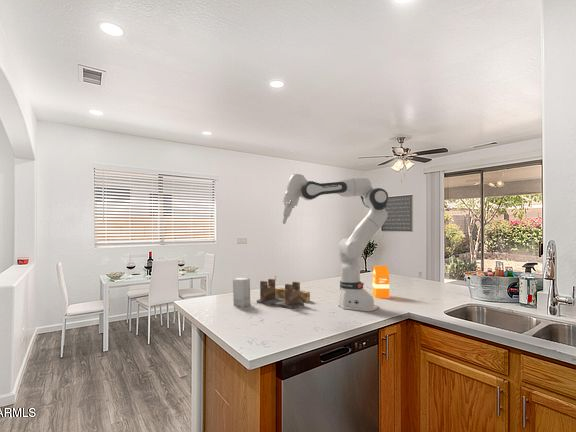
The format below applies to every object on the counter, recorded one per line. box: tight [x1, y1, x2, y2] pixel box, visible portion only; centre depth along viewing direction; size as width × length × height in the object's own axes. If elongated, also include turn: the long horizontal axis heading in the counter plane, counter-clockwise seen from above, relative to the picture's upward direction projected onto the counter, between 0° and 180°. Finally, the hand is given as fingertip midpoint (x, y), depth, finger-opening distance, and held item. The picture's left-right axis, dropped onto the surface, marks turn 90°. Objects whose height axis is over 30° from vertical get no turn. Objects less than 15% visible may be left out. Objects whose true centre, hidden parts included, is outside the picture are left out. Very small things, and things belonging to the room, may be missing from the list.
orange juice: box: [372, 265, 390, 299], centre depth 207 cm, size 8×9×20 cm
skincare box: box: [232, 277, 252, 308], centre depth 186 cm, size 8×7×16 cm
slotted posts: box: [256, 278, 305, 310], centre depth 189 cm, size 26×12×13 cm, turn 57°
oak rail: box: [275, 287, 311, 303], centre depth 200 cm, size 24×4×6 cm, turn 57°
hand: (283, 223), depth 184 cm, fingers open, 8 cm apart
